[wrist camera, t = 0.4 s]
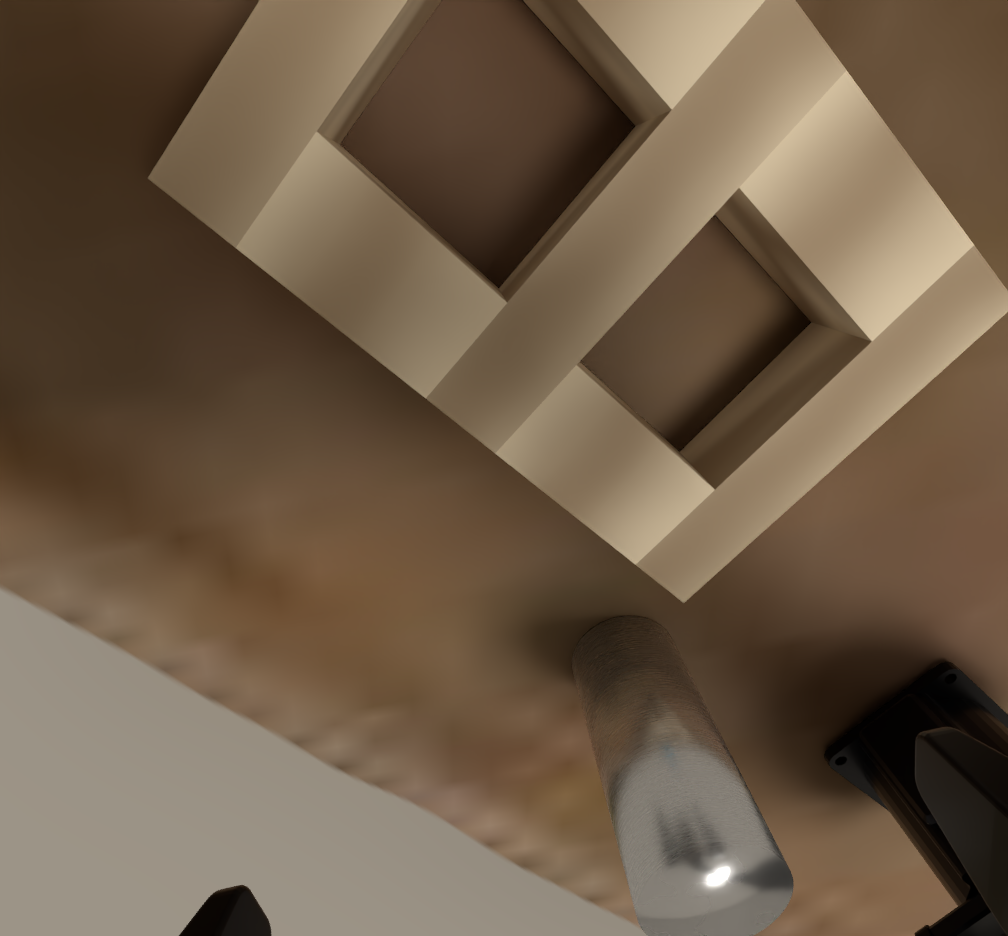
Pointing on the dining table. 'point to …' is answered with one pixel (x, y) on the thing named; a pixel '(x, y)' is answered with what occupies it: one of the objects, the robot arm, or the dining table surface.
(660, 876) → the grey cylinder
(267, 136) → the frame
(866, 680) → the dining table surface
